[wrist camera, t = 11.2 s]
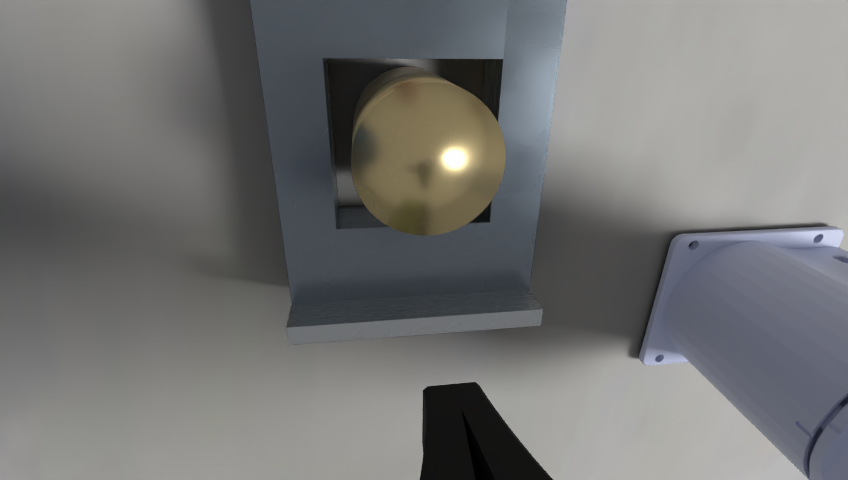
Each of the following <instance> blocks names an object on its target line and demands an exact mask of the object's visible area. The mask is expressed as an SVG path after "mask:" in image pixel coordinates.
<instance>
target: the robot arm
mask: <svg viewBox="0 0 848 480" xmlns="http://www.w3.org/2000/svg"><path fill="white" fill-rule="evenodd" d="M843 235H844V232H843V230H842V229H840V228H837V227H834V226H827V227H808V228H788V229H768V230H749V231H729V232H709V233H690V234H680V235H677V236H676V237H674V239H673V240H672V241H671V244H670V247H669V251H668V254H667V258H666V261H665V265H664V269H663V272H662V276H661V279H660V283H659V287H658V290H657V294H656V297H655V301H654V305H653V308H652V312H651V316H650V319H649V323H648V326H647V330H646V334H645V337H644V341H643V344H642V348H641V352H640V355H639V359H640V361H641V362H642V363H643V364H644V365H648V366H649V365H660V364H671V363H682V362H690V363H691V364H692V365H693V366H694V367H695V368H696V369H697V370H698V371H699V372H700V373H701V374H702V375H703V376H704V377H705V378H706V379H707V380H708V381H709V382H710V383H711V384H712V385H713V386H714V387H715V388H716V389H718V390H719V391H720V392H721V393H722V394H723V395H724V396H725V397H726V398H727V399H728V400H729V401H730V402H731V403H732V404H733V405H734V406H735V407H736V408H737V409H738V410H739V411H740V412H741V413H742V414H743V415H744V416H745V417H746V418H747V419H748V420H749V421H750V422H751V423H752V424H753V425H754V426H755V427H756V428H757V429H758V430H759V431H760V432H761V433H762V434H763V435H764V436H765V437H766V438H767V439H768V440H769V441H770V442H771V443H772V444H773V445H774V446H775V447H776V448H777V449H778V450H779V451H780V452H781V453H782V454H783V455H784V456H786V457H787V458H788V459H789V460H790V461H791V462H792V463H793V464H794V465H795V466H796V467H797V468H798V469H799V470H800V471H801V472H802V473H803V474H804V475H805V476H806V477H807V478H808V479H809V480H848V252H847V251H845V250H843V249H840V248H838V247H839V245H840V243H841V241H842V238H843ZM692 241H693V243H692V245H690V243H691V242H692ZM689 245H690V246H689ZM422 443H423V453H424V454H423V463H422V470H421V476H420V480H553V479H552V478H551V477H550V476H549V475H548V474H547V472H546V471H545V470H544V469H543V468H542V467H541V466H540V465H539V463H538V462H537V461H536V460H535V459H534V458H533V456H532V455H531V454H530V453H529V452H528V450H527V449H526V448H525V447H524V445H523V444H522V443H521V442H520V441H519V439H518V438H517V437H516V436H515V434H514V433H513V432H512V431H511V429H510V428H509V427H508V425H507V424H506V423H505V421H504V420H503V419H502V417H501V416H500V415H499V413H498V412H497V411H496V409H495V408H494V406H493V405H492V404H491V402H490V401H489V399H488V398H487V396H486V395H485V393H484V392H483V390H482V389H481V387H480V386H479V385H478V384H477V383H476V382H471V383H460V384H449V385H439V386H428V387H427V388H425V389H424V390H423V434H422Z"/></svg>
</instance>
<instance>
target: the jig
mask: <svg viewBox="0 0 848 480" xmlns="http://www.w3.org/2000/svg"><path fill="white" fill-rule="evenodd" d="M250 5H251V12H252V19H253V26H254V34H255V41H256V48H257V55H258V63H259V70H260V77H261V84H262V91H263V99H264V106H265V113H266V120H267V128H268V135H269V142H270V149H271V157H272V164H273V171H274V178H275V185H276V193H277V200H278V207H279V214H280V222H281V229H282V236H283V243H284V250H285V258H286V265H287V272H288V279H289V287H290V294H291V301H292V306H291V310H290V314H289V318H288V322H287V326H286V330H287V337H288V343H289V345H296V344H309V343H322V342H335V341H348V340H361V339H374V338H387V337H400V336H413V335H426V334H439V333H452V332H465V331H478V330H491V329H504V328H517V327H530V326H541V321H542V314H543V308H542V307H541V305H540V304H539V302H538V301H537V299H536V298H535V296H534V295H533V293H532V292H531V290H530V289H529V286H530V278H531V271H532V263H533V255H534V248H535V240H536V233H537V225H538V218H539V210H540V202H541V195H542V187H543V180H544V172H545V165H546V157H547V149H548V142H549V134H550V127H551V119H552V112H553V104H554V96H555V89H556V81H557V74H558V66H559V59H560V51H561V43H562V36H563V28H564V21H565V13H566V5H567V0H250ZM327 58H395V59H484V75H483V90H482V102H483V103H484V104H485V105H486V106H487V107H488V108H489V110H490V111H491V112H492V114H493V115H494V117H495V118H496V120H497V122H498V124H499V126H500V129H501V131H502V134H503V138H504V142H505V151H506V162H505V169H504V174H503V177H502V181H501V183H500V186H499V188H498V190H497V192H496V194H495V196H494V198H493V199H492V201H491V202H490V203H489V205H488V206H487V207H486V208H485V209H484V210H483V211H482V212H481V213H480V214H479V215H478V216H477V217H476V218H475V219H473V220H472V221H470V222H469V223H467V224H466V225H464V226H462V227H460V228H458V229H456V230H453V231H450V232H447V233H443V234H439V235H430V236H420V235H412V234H407V233H403V232H400V231H398V230H395V229H393V228H391V227H389V226H387V225H385V224H384V223H383V222H381V221H380V220H378V219H377V218H376V217H375V216H374V215H373V214H372V213H371V212H370V211H369V210H368V209H367V207H366V206H348V207H339V205H338V191H337V178H336V165H335V152H334V139H333V126H332V113H331V99H330V86H329V73H328V60H327Z"/></svg>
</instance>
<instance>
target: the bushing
mask: <svg viewBox="0 0 848 480" xmlns="http://www.w3.org/2000/svg"><path fill="white" fill-rule="evenodd" d="M505 162H506V151H505V142H504V138H503V134H502V131H501V129H500V126H499V124H498V122H497V120H496V118H495V117H494V115H493V114H492V112H491V111H490V110H489V108H488V107H487V106H486V105H485V104H484V103H483V102H482V101H481V100H480V99H478V98H477V97H476V96H474V95H473V94H471V93H470V92H468V91H466V90H464V89H462V88H460V87H458V86H457V85H455V84H453V83H451V82H449V81H447V80H445V79H444V78H442V77H440V76H438V75H436V74H434V73H432V72H430V71H428V70H425V69H422V68H417V67H399V68H395V69H391V70H389V71H386V72H384V73H382V74H381V75H379V76H377V77H376V78H375V79H373V80H372V81H371V82H370V83H369V84H368V85H367V87H366V88H365V89H364V91H363V92H362V94H361V96H360V97H359V100H358V102H357V105H356V109H355V113H354V122H353V136H352V151H351V171H352V178H353V181H354V185H355V188H356V190H357V192H358V195H359V197H360V198H361V200H362V202H363V203H364V205H365V206H366V207H367V209H368V210H369V211H370V212H371V213H372V214H373V215H374V216H375V217H376V218H377V219H378V220H380V221H381V222H383V223H384V224H385V225H387V226H389V227H391V228H393V229H395V230H398V231H400V232H403V233H407V234H412V235H420V236H430V235H439V234H443V233H447V232H450V231H453V230H456V229H458V228H460V227H462V226H464V225H466V224H467V223H469V222H470V221H472V220H473V219H475V218H476V217H477V216H478V215H479V214H480V213H481V212H482V211H483V210H484V209H485V208H486V207H487V206H488V205H489V203H490V202H491V201H492V199H493V198H494V196H495V194H496V192H497V190H498V188H499V186H500V183H501V181H502V177H503V174H504V169H505Z"/></svg>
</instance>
